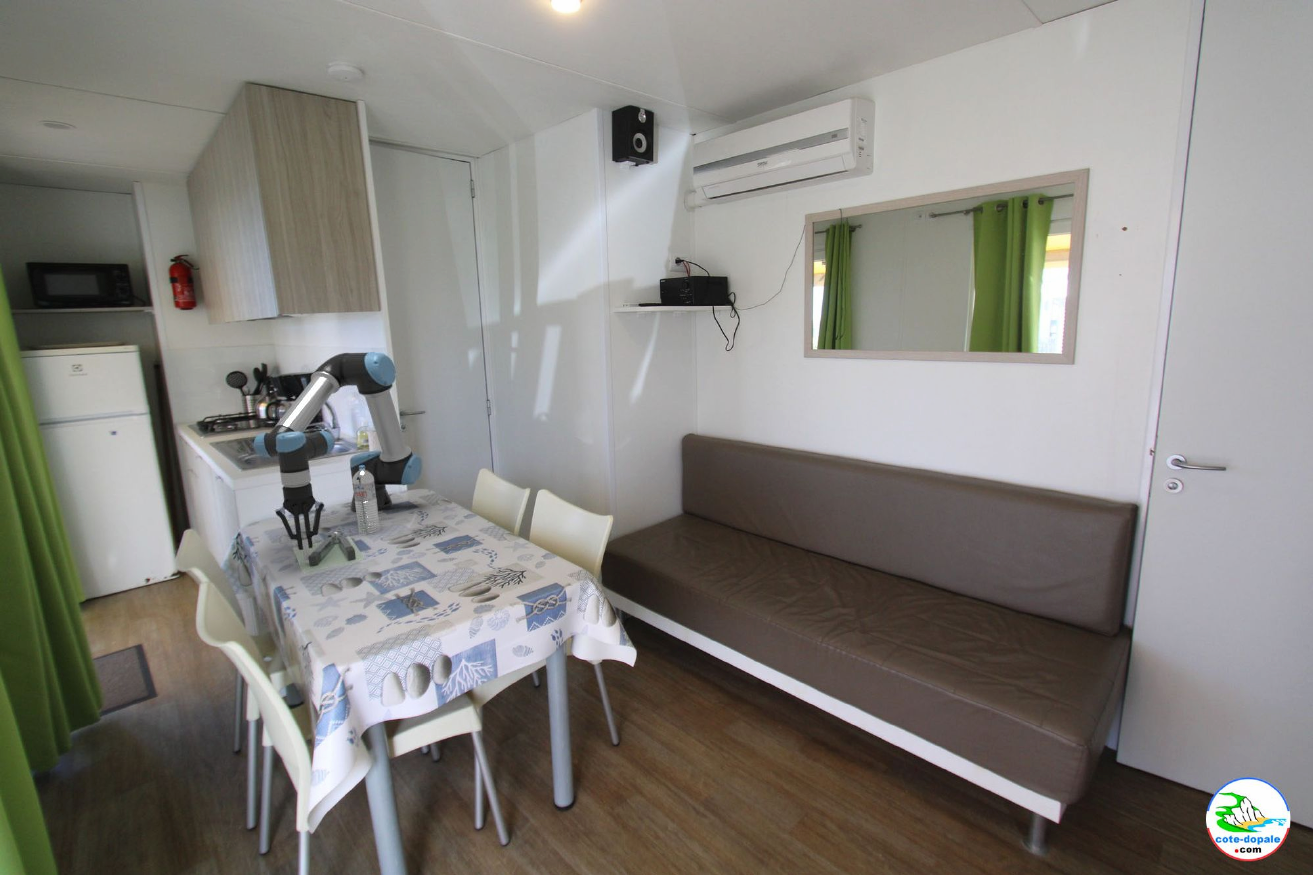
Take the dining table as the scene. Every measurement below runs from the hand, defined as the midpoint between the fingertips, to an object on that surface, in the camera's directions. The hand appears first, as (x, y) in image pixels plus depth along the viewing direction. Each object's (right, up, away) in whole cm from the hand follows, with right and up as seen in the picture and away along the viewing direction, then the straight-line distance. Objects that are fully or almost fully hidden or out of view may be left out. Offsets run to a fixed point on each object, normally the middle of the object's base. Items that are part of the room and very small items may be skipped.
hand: (307, 558), depth 186 cm
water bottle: (+6, +2, +28) cm, 29 cm away
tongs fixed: (+4, +1, +12) cm, 13 cm away
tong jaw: (+1, 0, +7) cm, 7 cm away
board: (+2, -1, +9) cm, 9 cm away
